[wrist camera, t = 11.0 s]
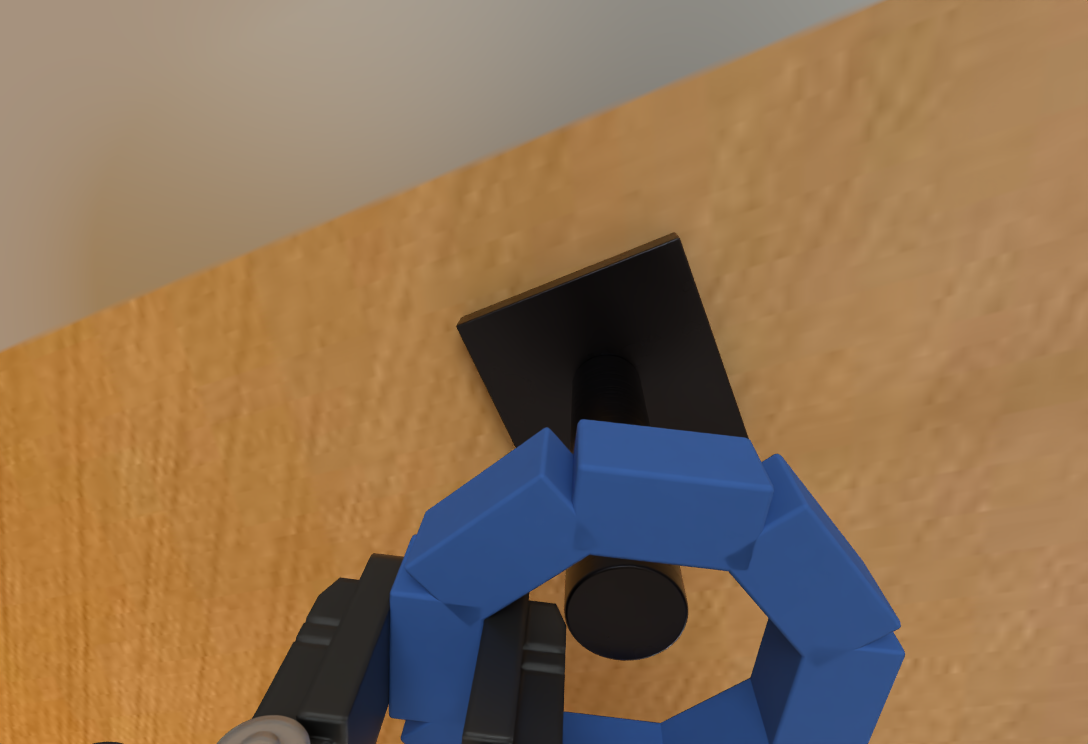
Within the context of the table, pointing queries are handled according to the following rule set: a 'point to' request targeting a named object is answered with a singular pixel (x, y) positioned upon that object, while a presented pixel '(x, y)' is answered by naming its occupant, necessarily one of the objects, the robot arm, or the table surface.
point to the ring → (661, 537)
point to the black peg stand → (610, 406)
